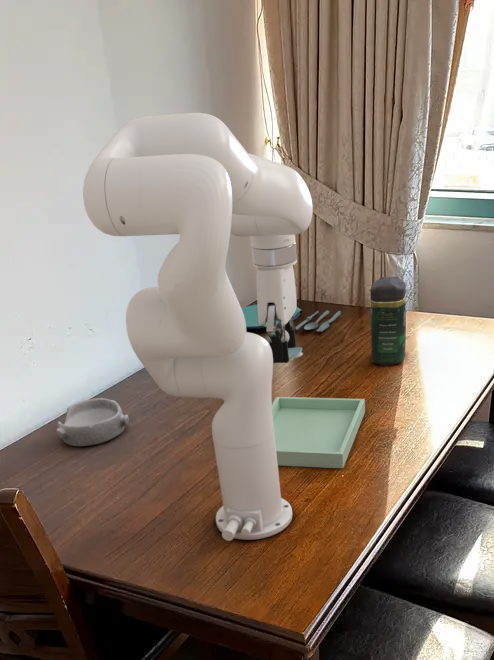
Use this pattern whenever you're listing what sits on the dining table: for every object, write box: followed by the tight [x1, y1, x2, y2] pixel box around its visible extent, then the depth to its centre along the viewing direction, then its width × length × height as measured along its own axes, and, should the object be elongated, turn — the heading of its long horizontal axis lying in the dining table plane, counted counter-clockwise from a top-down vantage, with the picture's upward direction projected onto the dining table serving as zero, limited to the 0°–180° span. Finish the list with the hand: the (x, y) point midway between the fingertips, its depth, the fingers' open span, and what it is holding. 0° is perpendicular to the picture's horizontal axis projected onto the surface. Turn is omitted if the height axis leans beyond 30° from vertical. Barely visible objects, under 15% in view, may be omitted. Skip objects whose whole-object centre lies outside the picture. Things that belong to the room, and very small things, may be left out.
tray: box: [272, 396, 366, 469], centre depth 150 cm, size 24×19×3 cm
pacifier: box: [276, 328, 304, 363], centre depth 141 cm, size 7×6×6 cm
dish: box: [55, 397, 130, 447], centre depth 160 cm, size 14×14×5 cm
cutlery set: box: [241, 304, 342, 333], centre depth 210 cm, size 20×30×2 cm, turn 64°
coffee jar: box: [369, 276, 407, 366], centre depth 177 cm, size 10×8×19 cm
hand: (283, 355), depth 142 cm, fingers closed on pacifier, 4 cm apart
